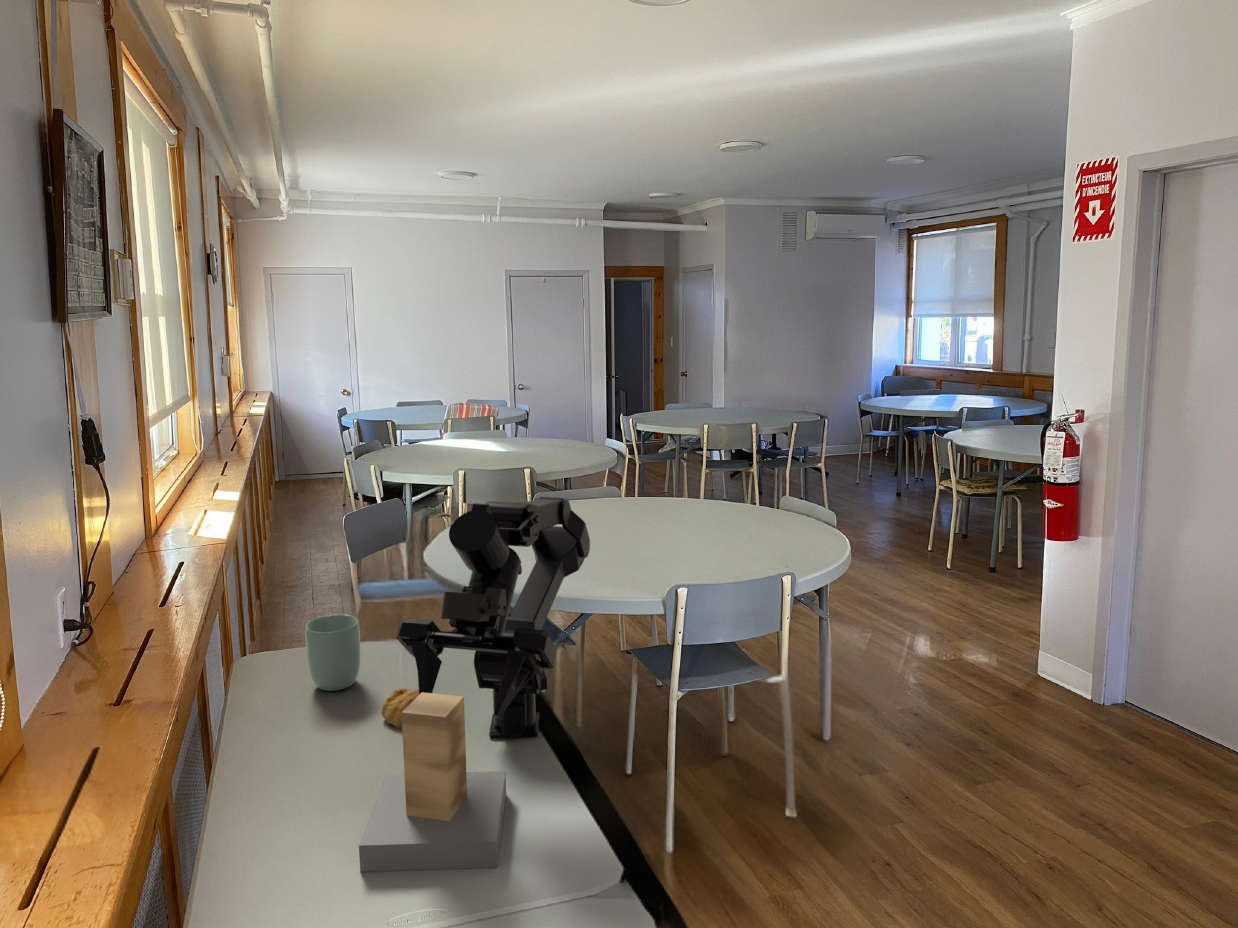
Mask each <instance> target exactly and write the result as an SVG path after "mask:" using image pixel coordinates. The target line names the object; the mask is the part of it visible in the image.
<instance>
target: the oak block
mask: <svg viewBox="0 0 1238 928" xmlns="http://www.w3.org/2000/svg"><path fill="white" fill-rule="evenodd" d="M401 729H402V731H401V732H402V753H403V769H404V770H403V772H404V773H403V774H404V775H405V796H406V815H407V816H415V817H422V818H430V819H437V820H445V821H450V820H451V818H452V817H453V816H454V814H455V813H456V811H457V810H458V809H459V807H460V806H461V804H462V803H463V802H464V800H465V799H466V797H467V773H466V772H467V752H466V751H467V750H466V748H467V747H466V721H465V696H461V695H452V694H443V693H442V694H441V693H433V692H432V693H423V692H422V693H421V694H420V695H419V696H418V697H417V698H416V699H414V700H413V701H412V702H411V703H410V704H409V705H408V706H407V707H406V708H405V709H404V710H403V711H402V728H401Z"/></svg>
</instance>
